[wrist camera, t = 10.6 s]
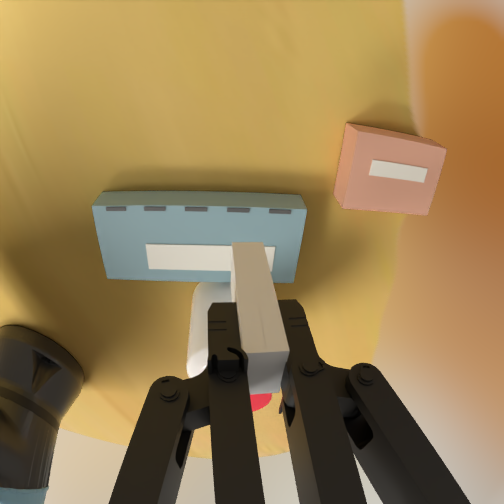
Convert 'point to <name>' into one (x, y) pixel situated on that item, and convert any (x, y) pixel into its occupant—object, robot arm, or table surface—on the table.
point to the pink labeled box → (387, 171)
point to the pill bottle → (199, 332)
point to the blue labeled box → (195, 233)
